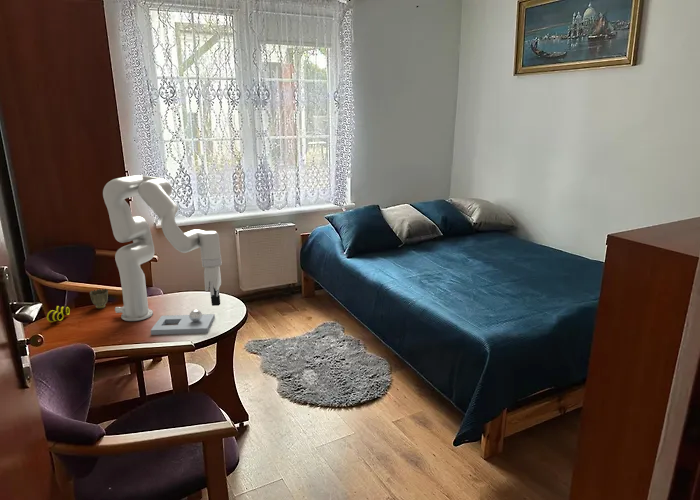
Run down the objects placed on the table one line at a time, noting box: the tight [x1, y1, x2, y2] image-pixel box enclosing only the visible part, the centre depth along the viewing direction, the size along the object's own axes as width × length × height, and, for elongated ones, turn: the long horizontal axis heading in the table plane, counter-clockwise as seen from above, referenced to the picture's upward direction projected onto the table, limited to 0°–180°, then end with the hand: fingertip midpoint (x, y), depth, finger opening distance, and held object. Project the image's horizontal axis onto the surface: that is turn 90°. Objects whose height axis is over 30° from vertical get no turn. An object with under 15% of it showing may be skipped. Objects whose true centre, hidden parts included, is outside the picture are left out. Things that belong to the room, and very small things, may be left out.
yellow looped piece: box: [46, 305, 71, 323], centre depth 209 cm, size 10×5×5 cm, turn 3°
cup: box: [89, 288, 109, 310], centre depth 221 cm, size 8×7×8 cm
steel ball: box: [188, 309, 203, 322], centre depth 201 cm, size 5×5×5 cm
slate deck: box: [150, 313, 216, 336], centre depth 202 cm, size 22×15×2 cm
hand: (216, 304), depth 201 cm, fingers closed
